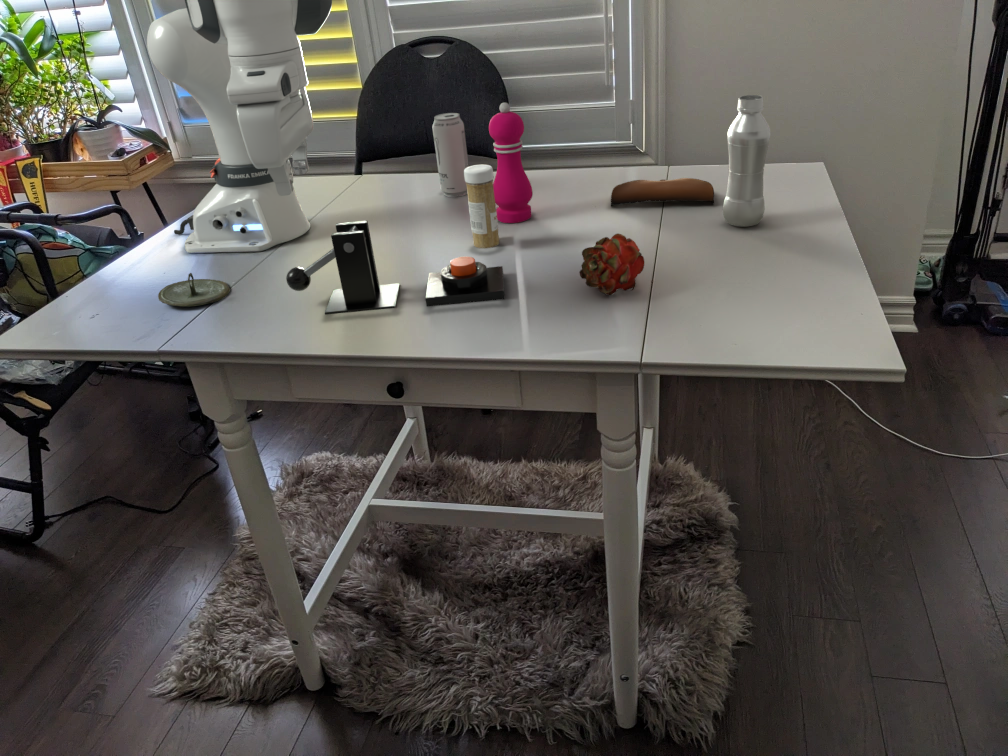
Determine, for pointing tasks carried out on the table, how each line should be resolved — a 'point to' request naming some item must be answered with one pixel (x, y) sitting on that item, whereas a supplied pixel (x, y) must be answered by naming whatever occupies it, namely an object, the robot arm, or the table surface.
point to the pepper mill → (510, 167)
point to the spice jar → (482, 205)
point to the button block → (465, 286)
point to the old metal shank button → (193, 292)
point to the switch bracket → (358, 273)
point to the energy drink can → (450, 153)
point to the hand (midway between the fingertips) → (294, 183)
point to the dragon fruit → (612, 264)
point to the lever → (309, 270)
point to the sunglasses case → (662, 191)
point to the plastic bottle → (746, 163)
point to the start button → (463, 266)
